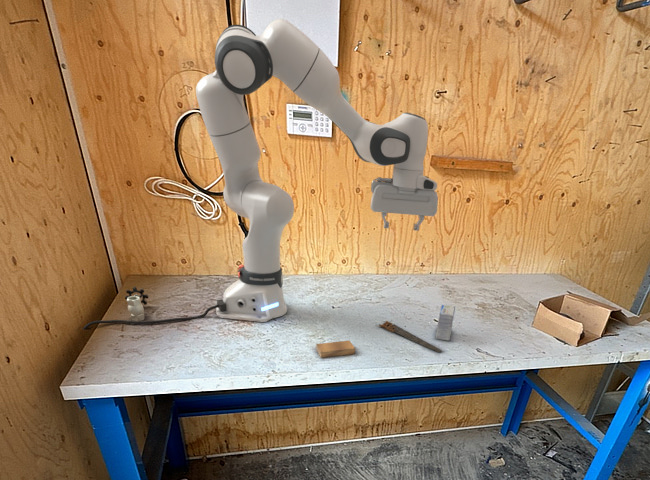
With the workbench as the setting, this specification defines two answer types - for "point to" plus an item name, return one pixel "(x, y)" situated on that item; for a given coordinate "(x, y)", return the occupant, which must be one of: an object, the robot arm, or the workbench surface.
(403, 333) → the hand saw
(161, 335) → the workbench surface
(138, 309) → the valve
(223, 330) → the workbench surface
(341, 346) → the plywood offcut
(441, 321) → the medicine box
